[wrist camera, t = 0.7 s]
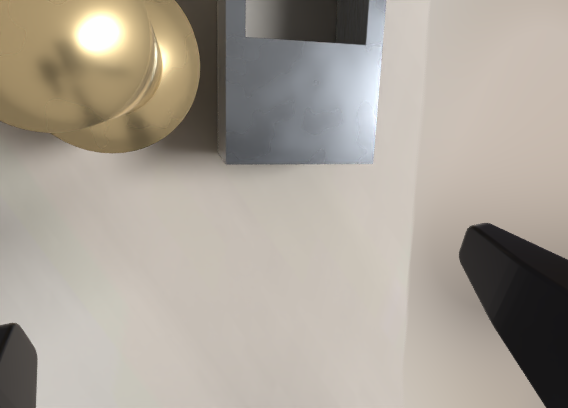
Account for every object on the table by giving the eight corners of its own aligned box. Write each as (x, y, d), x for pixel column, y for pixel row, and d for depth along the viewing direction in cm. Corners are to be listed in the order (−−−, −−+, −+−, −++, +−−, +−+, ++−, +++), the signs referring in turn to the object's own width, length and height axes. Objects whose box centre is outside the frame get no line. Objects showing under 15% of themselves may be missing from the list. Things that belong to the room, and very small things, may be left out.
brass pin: (196, 141, 22) (220, 196, 10) (51, 140, 20) (-136, 204, 8) (193, -1, 20) (218, -147, 8) (37, -15, 19) (-223, -222, 7)
